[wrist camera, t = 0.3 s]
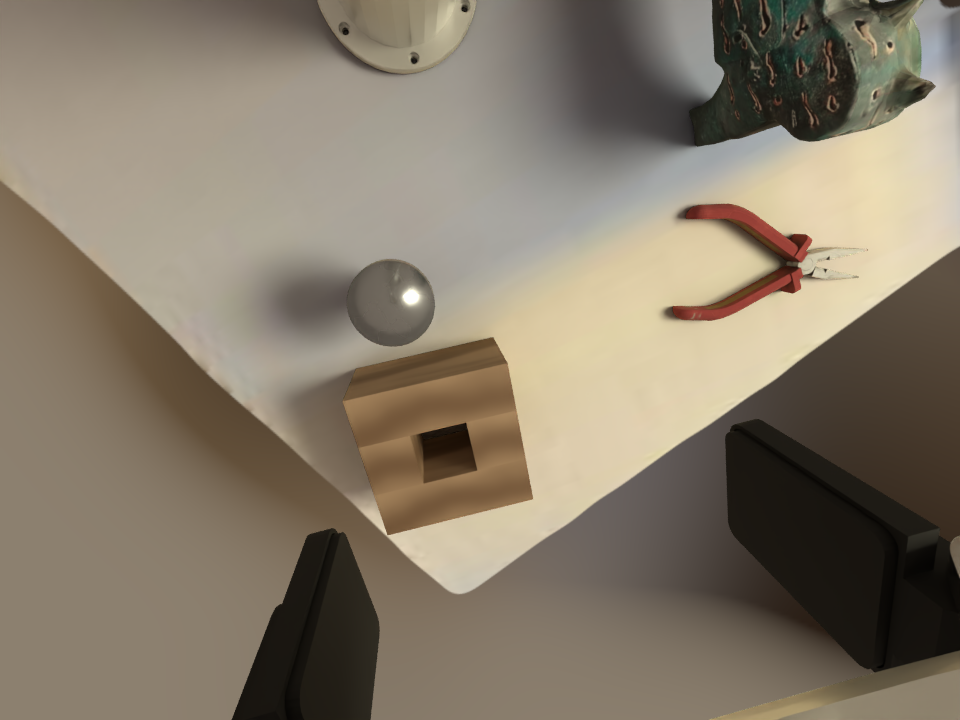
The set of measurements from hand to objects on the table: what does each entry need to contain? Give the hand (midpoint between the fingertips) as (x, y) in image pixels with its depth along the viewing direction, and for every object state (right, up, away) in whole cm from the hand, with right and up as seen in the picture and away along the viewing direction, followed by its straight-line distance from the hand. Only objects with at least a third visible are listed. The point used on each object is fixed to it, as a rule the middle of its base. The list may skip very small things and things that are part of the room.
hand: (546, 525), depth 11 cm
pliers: (+27, +13, +36) cm, 47 cm away
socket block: (-6, -2, +36) cm, 37 cm away
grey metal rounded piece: (-9, +11, +31) cm, 35 cm away
